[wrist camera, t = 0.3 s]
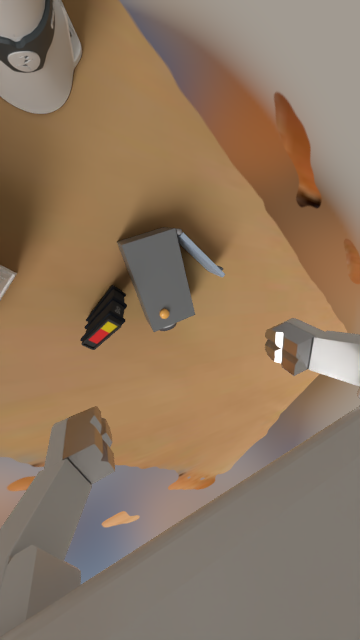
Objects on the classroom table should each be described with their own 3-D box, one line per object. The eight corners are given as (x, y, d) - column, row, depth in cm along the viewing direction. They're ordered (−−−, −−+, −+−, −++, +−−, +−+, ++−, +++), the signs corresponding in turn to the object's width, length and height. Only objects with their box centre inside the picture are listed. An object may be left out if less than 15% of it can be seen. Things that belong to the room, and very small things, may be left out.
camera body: (116, 241, 48) (122, 245, 40) (164, 227, 50) (177, 228, 43) (148, 324, 60) (157, 339, 52) (185, 309, 63) (198, 321, 55)
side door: (164, 230, 51) (175, 232, 44) (170, 222, 50) (182, 222, 44) (208, 272, 60) (223, 278, 53) (213, 265, 60) (229, 270, 53)
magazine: (131, 283, 51) (124, 326, 41) (103, 311, 57) (90, 355, 47) (119, 274, 49) (108, 317, 39) (91, 304, 55) (74, 348, 45)
